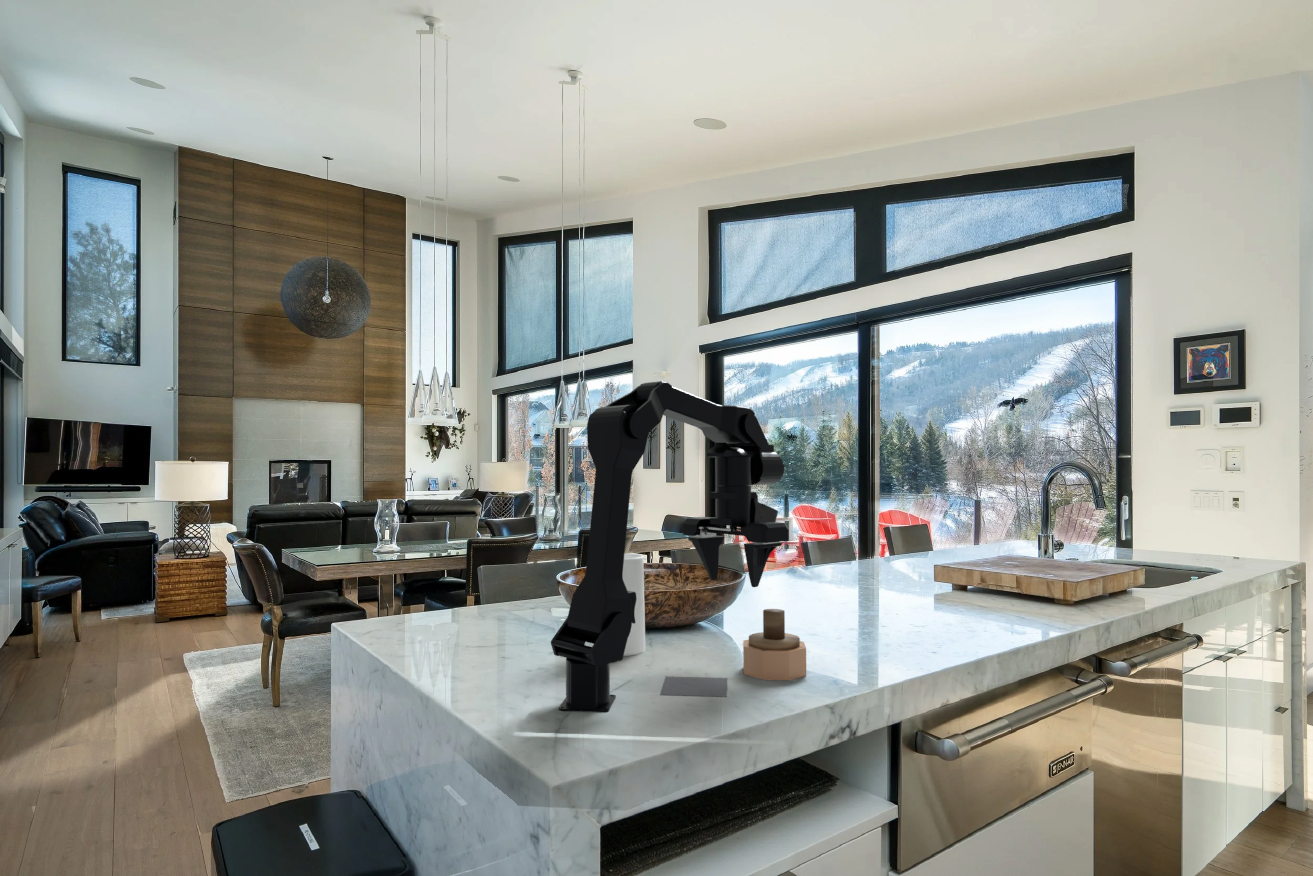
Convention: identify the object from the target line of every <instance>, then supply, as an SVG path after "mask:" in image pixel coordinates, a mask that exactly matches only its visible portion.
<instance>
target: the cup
mask: <svg viewBox="0 0 1313 876" xmlns="http://www.w3.org/2000/svg"><path fill="white" fill-rule="evenodd" d="M644 563H645V562H644V554H640V553H629V552H628V553H624V564H623V581H624V584H625V586H626V589H627V591H632V592H635V593H636V598H637V600H636V604H635V610H634V617H635V623H632V626H631V631H630V634H629V637H628V639H627V643H626V647H625V651H624V655H623V657H624V656H635V655H640V654H642V653H644V652H645V651H646V623H645V622H646V615H645V614H646V613H645V612H646V611H645V576H644V575H645V574H644V573H645V572H644V571H645V570H644Z"/></svg>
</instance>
